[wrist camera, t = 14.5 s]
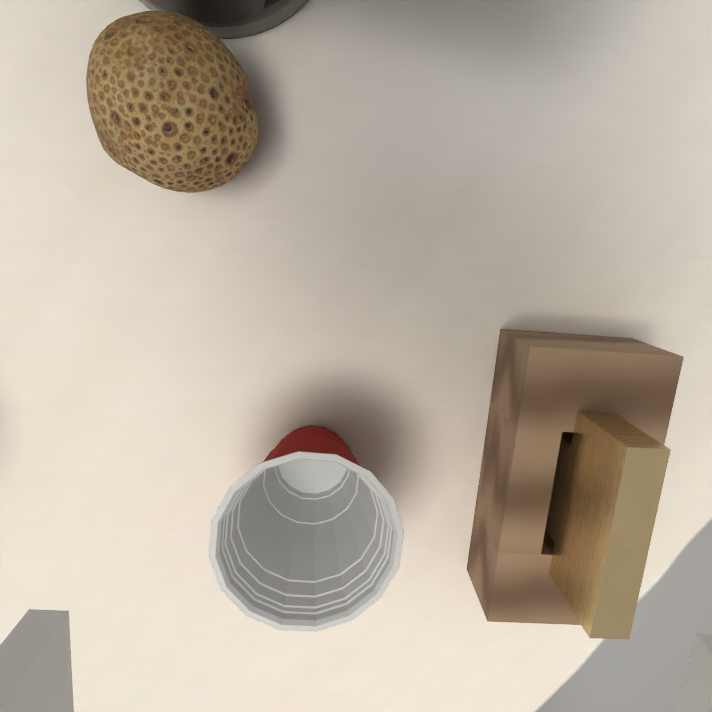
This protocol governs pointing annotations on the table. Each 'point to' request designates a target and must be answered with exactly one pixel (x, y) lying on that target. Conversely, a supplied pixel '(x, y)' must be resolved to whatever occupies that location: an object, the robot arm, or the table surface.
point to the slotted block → (549, 453)
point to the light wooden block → (604, 519)
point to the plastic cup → (306, 535)
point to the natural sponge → (170, 101)
